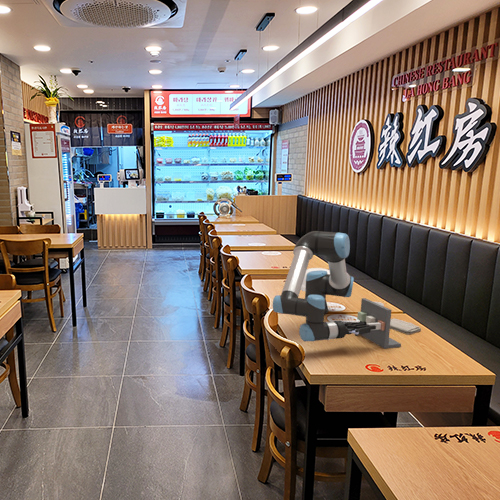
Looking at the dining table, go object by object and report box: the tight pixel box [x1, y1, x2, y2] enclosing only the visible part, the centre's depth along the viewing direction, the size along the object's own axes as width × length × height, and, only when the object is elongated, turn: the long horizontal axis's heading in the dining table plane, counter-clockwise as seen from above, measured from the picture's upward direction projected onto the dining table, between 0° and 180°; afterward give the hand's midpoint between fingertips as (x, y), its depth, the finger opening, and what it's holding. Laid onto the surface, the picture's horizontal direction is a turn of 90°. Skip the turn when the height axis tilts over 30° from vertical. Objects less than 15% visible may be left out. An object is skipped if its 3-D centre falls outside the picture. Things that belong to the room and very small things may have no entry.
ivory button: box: [366, 316, 376, 324], centre depth 205 cm, size 4×4×4 cm
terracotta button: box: [378, 320, 385, 331], centre depth 199 cm, size 4×4×4 cm
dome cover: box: [300, 267, 330, 292], centre depth 306 cm, size 32×30×14 cm
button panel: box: [359, 298, 402, 350], centre depth 207 cm, size 20×9×18 cm, turn 20°
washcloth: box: [390, 318, 422, 336], centre depth 227 cm, size 12×18×3 cm, turn 38°
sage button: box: [356, 311, 367, 322], centre depth 211 cm, size 4×4×4 cm
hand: (379, 325), depth 198 cm, fingers closed
